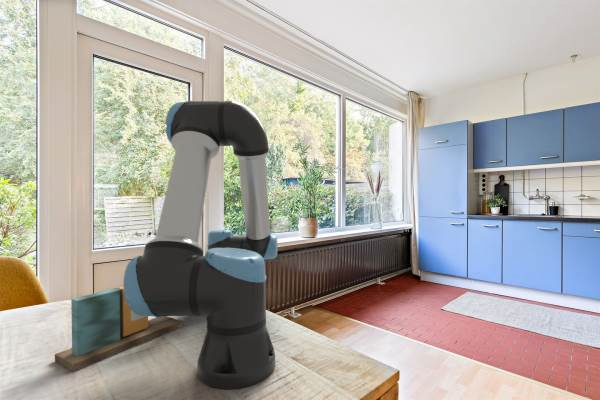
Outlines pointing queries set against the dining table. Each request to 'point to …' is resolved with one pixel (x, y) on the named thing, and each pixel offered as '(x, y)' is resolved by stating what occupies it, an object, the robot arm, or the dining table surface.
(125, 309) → the stub
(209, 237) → the robot arm
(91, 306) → the ticket stand
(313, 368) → the dining table surface
